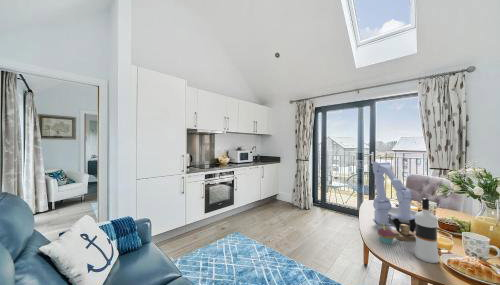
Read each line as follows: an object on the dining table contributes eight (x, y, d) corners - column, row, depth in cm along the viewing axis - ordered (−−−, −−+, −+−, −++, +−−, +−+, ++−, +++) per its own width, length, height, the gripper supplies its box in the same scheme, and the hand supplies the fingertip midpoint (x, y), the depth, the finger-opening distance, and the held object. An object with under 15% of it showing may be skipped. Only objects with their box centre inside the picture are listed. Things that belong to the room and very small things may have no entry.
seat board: (390, 232, 124) (390, 229, 124) (421, 234, 121) (421, 231, 121) (398, 239, 115) (398, 236, 115) (433, 242, 112) (432, 238, 112)
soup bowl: (408, 215, 152) (408, 207, 152) (434, 229, 128) (434, 219, 128) (376, 214, 155) (376, 206, 155) (396, 228, 131) (396, 218, 131)
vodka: (413, 258, 97) (412, 198, 97) (414, 251, 103) (413, 194, 103) (439, 266, 90) (438, 202, 90) (439, 257, 97) (438, 198, 97)
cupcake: (387, 246, 108) (387, 225, 108) (374, 239, 116) (373, 219, 116) (399, 244, 110) (398, 223, 110) (385, 237, 119) (384, 217, 119)
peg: (399, 234, 121) (398, 223, 121) (407, 235, 120) (407, 224, 120) (402, 238, 117) (402, 226, 117) (411, 239, 116) (411, 227, 116)
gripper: (395, 211, 116) (395, 233, 116) (422, 212, 113) (423, 235, 113) (388, 207, 123) (389, 228, 123) (414, 207, 120) (414, 229, 120)
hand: (404, 231), depth 119 cm, fingers open, 7 cm apart
